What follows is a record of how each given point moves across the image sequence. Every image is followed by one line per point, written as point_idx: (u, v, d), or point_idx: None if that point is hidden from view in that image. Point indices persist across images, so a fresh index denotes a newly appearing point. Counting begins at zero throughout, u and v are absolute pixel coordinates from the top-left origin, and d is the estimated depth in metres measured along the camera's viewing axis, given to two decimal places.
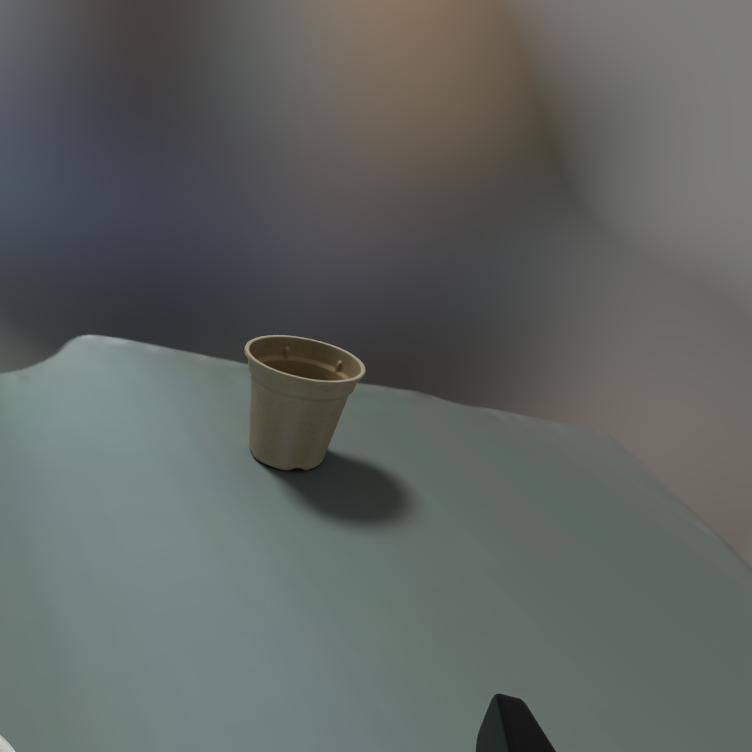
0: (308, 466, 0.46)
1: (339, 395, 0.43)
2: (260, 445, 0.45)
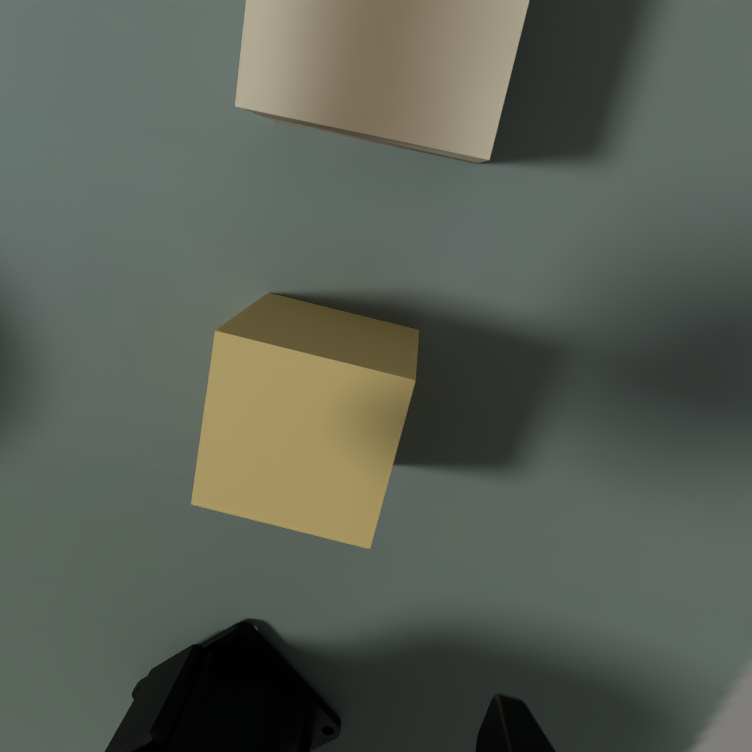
0: None
1: None
2: None
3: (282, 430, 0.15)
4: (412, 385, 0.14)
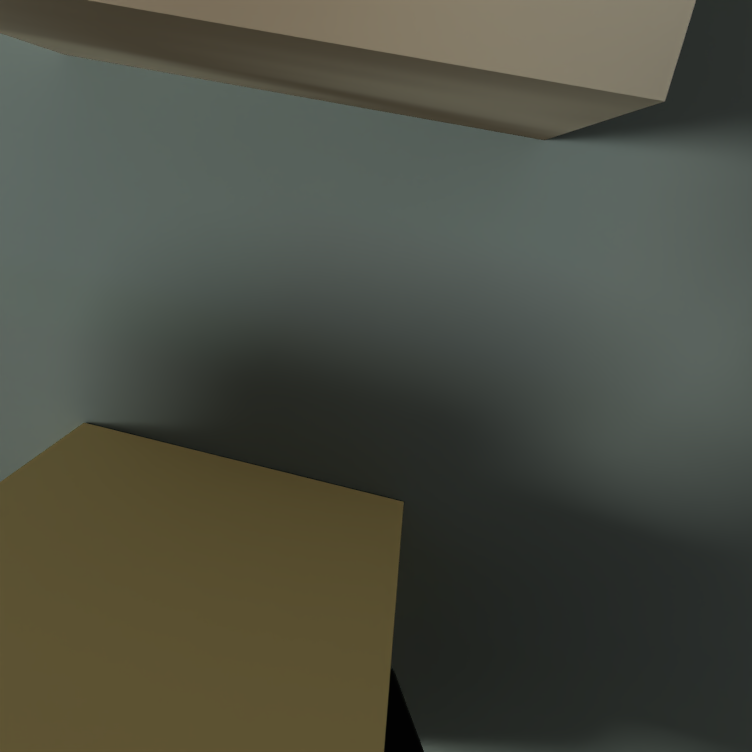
0: None
1: None
2: None
3: None
4: None
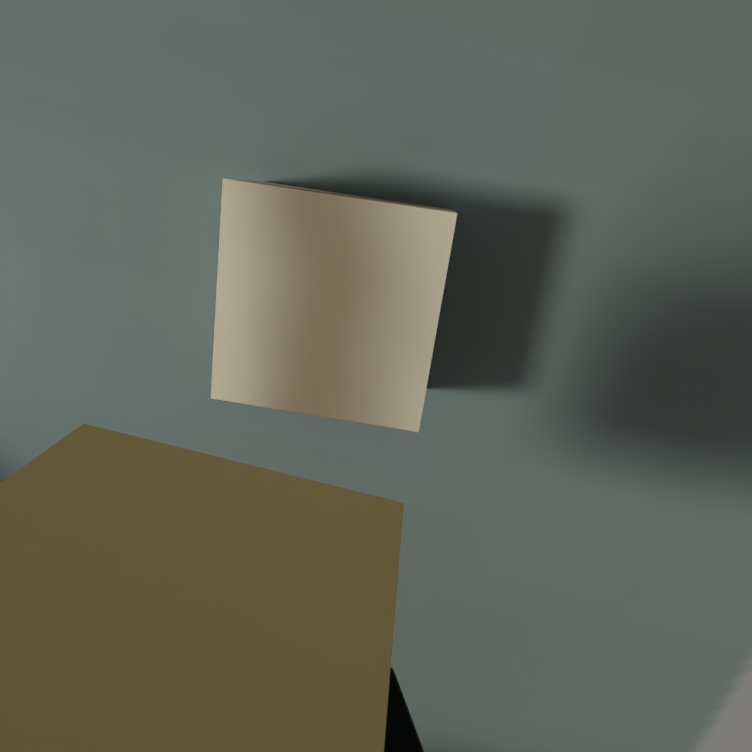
0: None
1: None
2: None
3: None
4: None
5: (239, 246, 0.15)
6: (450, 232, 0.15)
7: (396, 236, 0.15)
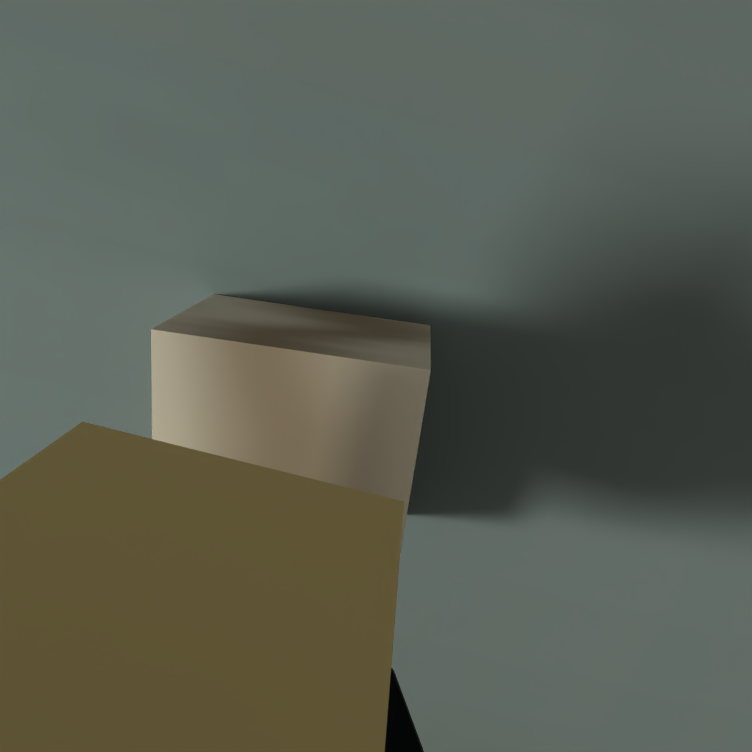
0: None
1: None
2: None
3: None
4: None
5: (175, 403, 0.13)
6: (423, 390, 0.12)
7: (358, 394, 0.12)
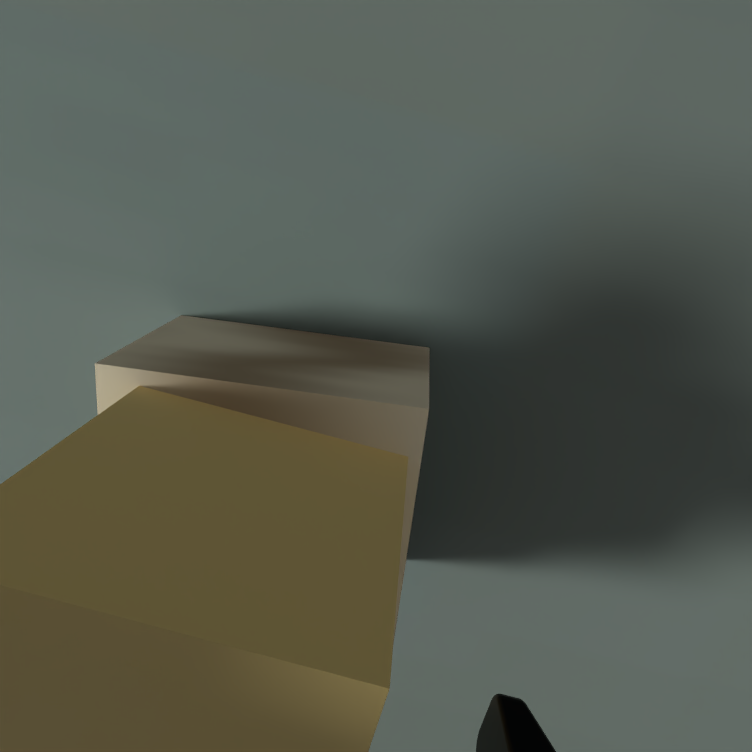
0: None
1: None
2: None
3: None
4: (381, 699, 0.06)
5: None
6: (420, 433, 0.10)
7: (343, 437, 0.10)
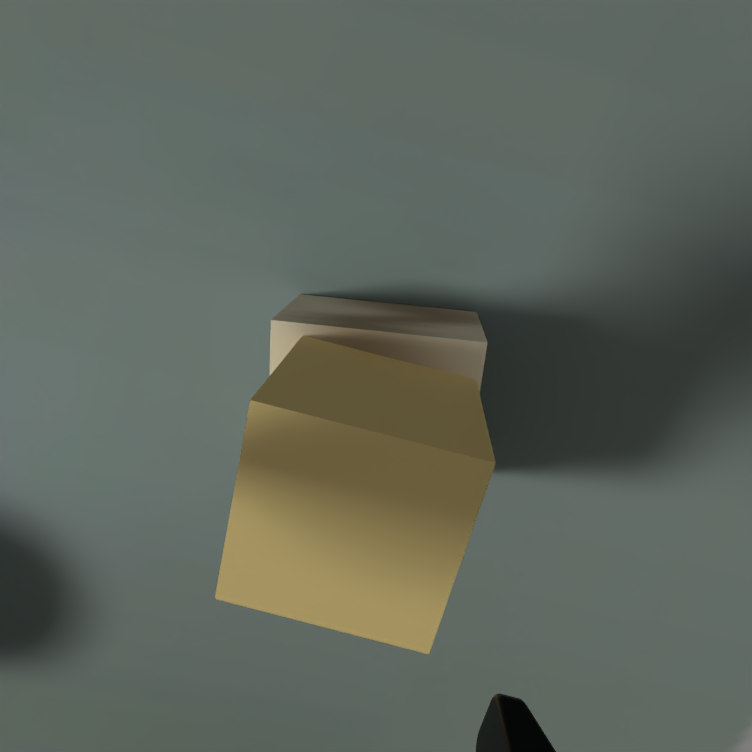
0: None
1: None
2: None
3: (329, 517, 0.12)
4: (491, 469, 0.11)
5: None
6: (481, 359, 0.16)
7: (431, 364, 0.16)
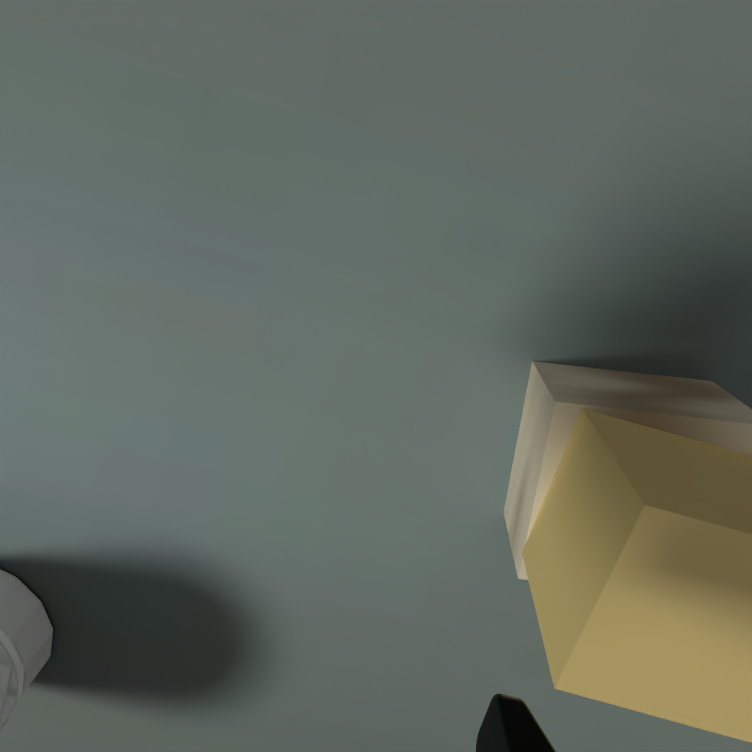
0: None
1: None
2: None
3: (697, 616, 0.12)
4: None
5: None
6: None
7: None
